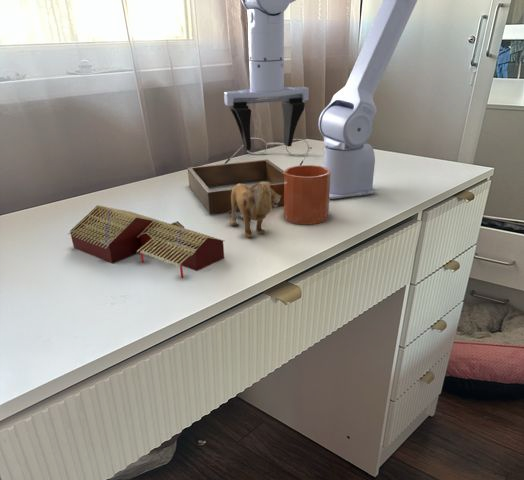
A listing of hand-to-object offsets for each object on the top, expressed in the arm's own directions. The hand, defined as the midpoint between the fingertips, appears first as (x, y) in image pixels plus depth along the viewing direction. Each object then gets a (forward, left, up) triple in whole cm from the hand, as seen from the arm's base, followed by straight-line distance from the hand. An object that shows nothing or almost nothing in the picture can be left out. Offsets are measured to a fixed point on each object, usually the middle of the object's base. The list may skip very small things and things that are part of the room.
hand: (267, 147), depth 91 cm
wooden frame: (+3, -8, -10) cm, 13 cm away
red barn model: (+25, +15, -11) cm, 31 cm away
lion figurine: (+7, +11, -11) cm, 17 cm away
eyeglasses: (-10, -29, -11) cm, 32 cm away
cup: (-4, +9, -10) cm, 14 cm away
